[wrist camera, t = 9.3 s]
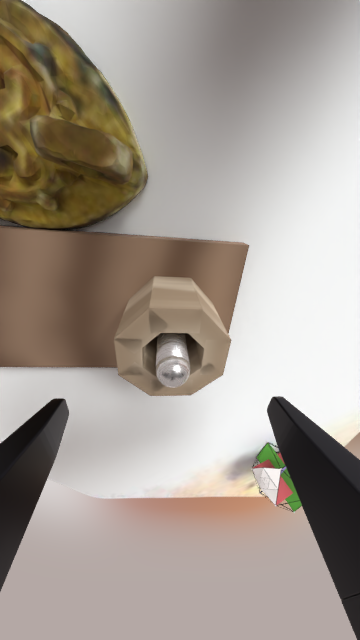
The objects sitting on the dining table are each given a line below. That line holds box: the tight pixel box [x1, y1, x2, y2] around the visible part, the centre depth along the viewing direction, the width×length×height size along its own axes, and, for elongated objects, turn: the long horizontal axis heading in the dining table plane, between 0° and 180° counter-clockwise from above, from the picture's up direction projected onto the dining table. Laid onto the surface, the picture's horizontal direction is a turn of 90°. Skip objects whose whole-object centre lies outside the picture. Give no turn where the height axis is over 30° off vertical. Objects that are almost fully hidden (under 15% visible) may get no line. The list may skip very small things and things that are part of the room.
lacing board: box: [0, 226, 249, 367], centre depth 15 cm, size 22×11×1 cm, turn 86°
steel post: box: [156, 333, 190, 388], centre depth 12 cm, size 2×2×7 cm
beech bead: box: [114, 276, 231, 396], centre depth 13 cm, size 6×6×5 cm
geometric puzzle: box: [251, 442, 302, 513], centre depth 26 cm, size 7×7×8 cm
